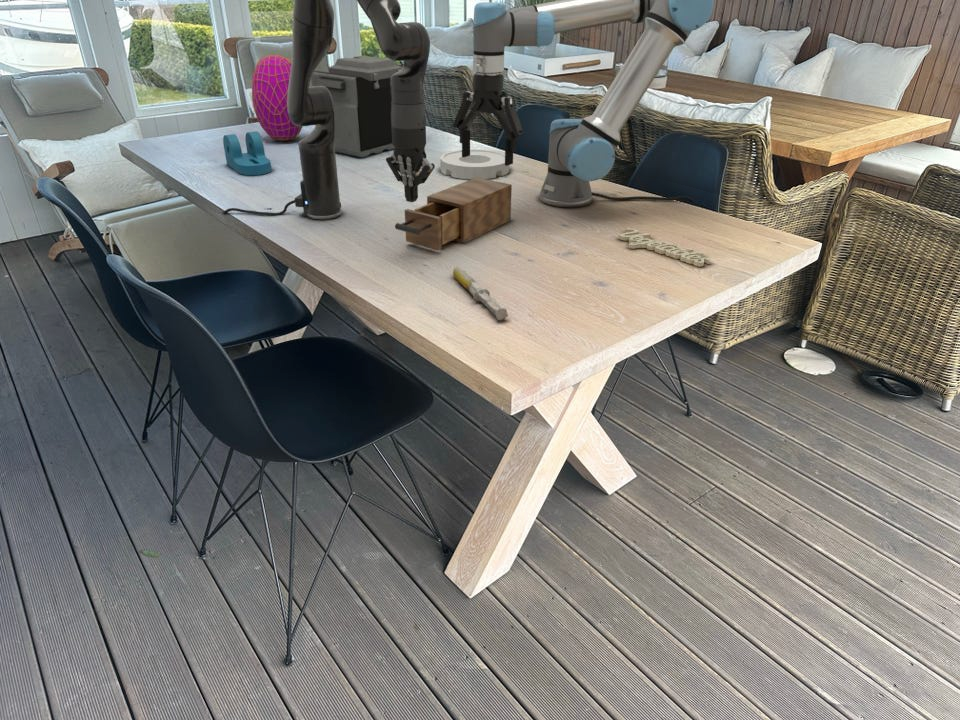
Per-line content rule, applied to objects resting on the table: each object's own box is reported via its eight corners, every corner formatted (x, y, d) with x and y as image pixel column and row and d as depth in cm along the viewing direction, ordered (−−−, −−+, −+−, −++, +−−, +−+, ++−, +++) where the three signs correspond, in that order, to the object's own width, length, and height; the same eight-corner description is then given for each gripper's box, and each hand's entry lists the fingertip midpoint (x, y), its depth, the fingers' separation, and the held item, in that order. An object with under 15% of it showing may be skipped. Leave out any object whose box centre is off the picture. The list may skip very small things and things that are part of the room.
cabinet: (463, 243, 172) (463, 204, 167) (428, 234, 178) (426, 196, 172) (510, 220, 187) (511, 184, 182) (476, 212, 193) (476, 177, 188)
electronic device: (383, 133, 276) (378, 52, 261) (425, 141, 265) (422, 56, 250) (314, 150, 251) (304, 61, 235) (358, 160, 240) (350, 67, 224)
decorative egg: (293, 132, 276) (283, 50, 261) (319, 140, 264) (310, 56, 249) (249, 139, 265) (236, 54, 250) (273, 148, 253) (261, 60, 238)
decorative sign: (605, 235, 174) (629, 227, 180) (604, 239, 175) (629, 230, 181) (694, 266, 158) (718, 256, 163) (693, 270, 158) (717, 260, 164)
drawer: (423, 257, 161) (422, 225, 157) (390, 248, 166) (388, 216, 162) (486, 227, 179) (487, 197, 175) (455, 219, 184) (454, 190, 180)
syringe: (449, 274, 155) (449, 263, 153) (465, 272, 156) (464, 260, 154) (490, 323, 135) (491, 310, 133) (508, 319, 136) (508, 307, 134)
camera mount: (227, 164, 233) (221, 132, 227) (257, 160, 238) (252, 129, 233) (244, 176, 220) (239, 143, 215) (276, 172, 225) (271, 139, 220)
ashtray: (443, 160, 241) (442, 148, 239) (509, 161, 240) (509, 149, 238) (437, 178, 221) (437, 166, 219) (509, 180, 220) (509, 167, 218)
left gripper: (374, 122, 151) (379, 199, 160) (421, 130, 144) (423, 210, 153) (396, 117, 156) (400, 192, 165) (442, 124, 150) (444, 202, 159)
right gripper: (439, 70, 172) (440, 155, 183) (523, 80, 160) (519, 171, 171) (456, 66, 177) (457, 150, 188) (539, 76, 165) (535, 164, 176)
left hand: (411, 201), depth 159 cm, fingers closed
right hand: (487, 160), depth 179 cm, fingers open, 13 cm apart
